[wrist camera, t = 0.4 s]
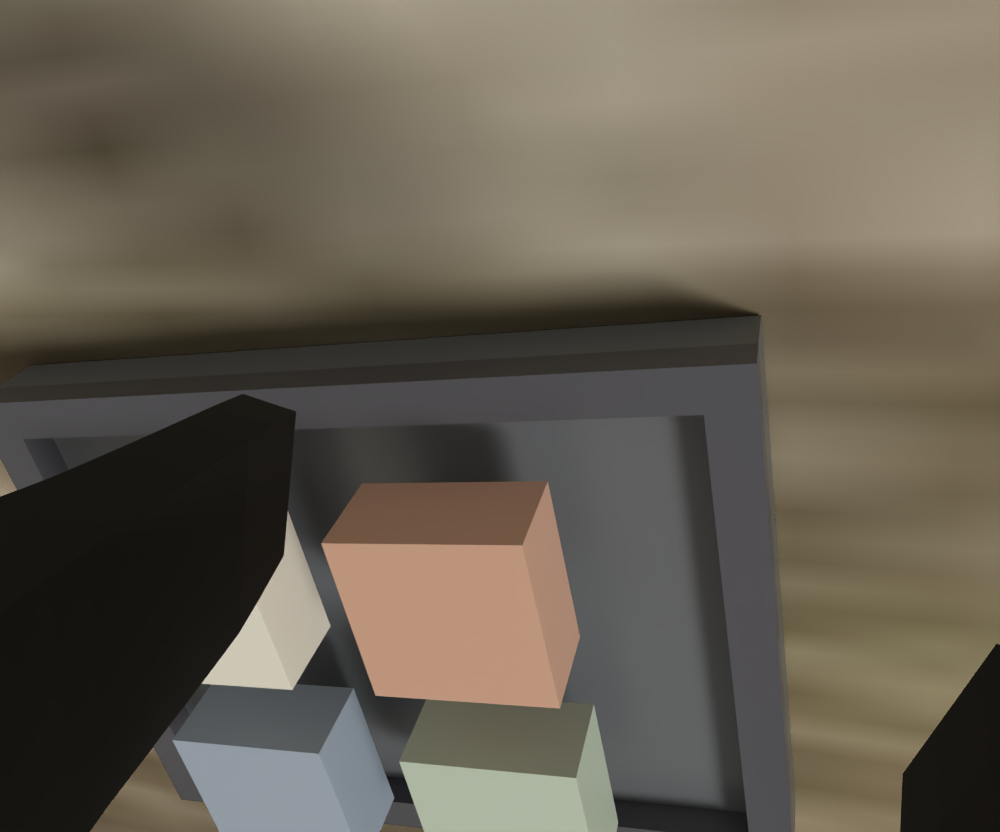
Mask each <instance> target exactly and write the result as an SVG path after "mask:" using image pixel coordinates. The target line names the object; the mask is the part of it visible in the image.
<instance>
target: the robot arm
mask: <svg viewBox="0 0 1000 832" xmlns="http://www.w3.org/2000/svg"><path fill="white" fill-rule="evenodd" d="M295 420H296V411H293V410H290V409H287V408H284V407H281V406H278V405H275V404H272V403H269V402H266V401H263V400H260V399H257V398H254V397H251V396H248V395H245V394H241V395H239V396H236V397H234V398H231V399H229V400H226V401H224V402H222V403H219V404H217V405H215V406H212V407H210V408H208V409H206V410H203V411H201V412H199V413H197V414H194V415H192V416H190V417H188V418H185V419H183V420H181V421H179V422H177V423H174V424H172V425H170V426H168V427H165V428H163V429H161V430H159V431H157V432H154V433H152V434H150V435H148V436H145V437H143V438H141V439H139V440H137V441H134V442H132V443H130V444H127V445H125V446H123V447H120V448H118V449H116V450H114V451H111V452H109V453H107V454H104V455H102V456H100V457H97V458H95V459H93V460H90V461H88V462H86V463H84V464H81V465H79V466H77V467H74V468H72V469H70V470H67V471H65V472H63V473H60V474H58V475H56V476H53V477H50V478H48V479H45V480H43V481H40V482H38V483H35V484H32V485H30V486H27V487H25V488H22V489H19V490H17V491H14V492H12V493H9V494H6V495H4V496H1V497H0V832H90V831H91V829H92V828H93V826H94V825H95V823H96V822H97V821H98V819H99V818H100V816H101V815H102V813H103V812H104V811H105V809H106V808H107V806H108V805H109V804H110V803H111V801H112V800H113V799H114V797H115V796H116V795H117V793H118V792H119V791H120V789H121V788H122V787H123V786H124V784H125V783H126V782H127V780H128V779H129V778H130V776H131V775H132V774H133V772H134V771H135V770H136V769H137V767H138V766H139V765H140V763H141V762H142V761H143V759H144V758H145V757H146V756H147V754H148V753H149V752H150V750H151V749H152V748H153V746H154V745H155V744H156V742H157V741H158V740H159V739H160V737H161V736H162V735H163V733H164V732H165V731H166V729H167V728H168V727H169V725H170V724H171V723H172V722H173V720H174V719H175V718H176V716H177V715H178V714H179V712H180V711H181V710H182V708H183V707H184V706H185V705H186V703H187V702H188V701H189V699H190V698H191V697H192V695H193V694H194V693H195V691H196V690H197V689H198V687H199V686H200V685H201V684H202V682H203V681H204V680H205V678H206V677H207V676H208V674H209V673H210V672H211V670H212V669H213V668H214V666H215V665H216V664H217V662H218V661H219V660H220V658H221V657H222V656H223V654H224V653H225V652H226V650H227V649H228V648H229V646H230V645H231V644H232V642H233V641H234V639H235V638H236V637H237V635H238V634H239V632H240V631H241V629H242V627H243V626H244V624H245V622H246V621H247V619H248V617H249V616H250V614H251V612H252V611H253V609H254V607H255V606H256V604H257V602H258V601H259V599H260V597H261V595H262V594H263V592H264V590H265V588H266V587H267V585H268V583H269V581H270V579H271V578H272V576H273V574H274V572H275V570H276V569H277V567H278V565H279V563H280V562H281V560H282V558H283V556H284V549H285V537H286V526H287V514H288V502H289V490H290V479H291V467H292V455H293V443H294V432H295ZM900 832H1000V645H999V644H996V645H995V647H994V648H993V650H992V651H991V652H990V654H989V655H988V657H987V658H986V659H985V661H984V662H983V663H982V665H981V666H980V668H979V669H978V670H977V672H976V673H975V675H974V676H973V677H972V679H971V680H970V681H969V683H968V684H967V686H966V687H965V688H964V690H963V691H962V693H961V694H960V695H959V697H958V698H957V699H956V701H955V702H954V704H953V705H952V706H951V708H950V709H949V711H948V712H947V713H946V715H945V716H944V717H943V719H942V720H941V722H940V723H939V724H938V726H937V727H936V729H935V730H934V731H933V733H932V734H931V735H930V737H929V738H928V740H927V741H926V742H925V744H924V745H923V747H922V748H921V749H920V751H919V752H918V754H917V755H916V756H915V758H914V759H913V760H912V762H911V763H910V765H909V766H908V767H907V769H906V770H905V772H904V773H903V782H902V805H901V827H900Z"/></svg>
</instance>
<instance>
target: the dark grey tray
mask: <svg viewBox="0 0 1000 832" xmlns="http://www.w3.org/2000/svg"><path fill="white" fill-rule="evenodd" d="M241 394H245V395H248V396H251V397H254V398H257V399H260V400H263V401H266V402H269V403H272V404H275V405H278V406H281V407H284V408H287V409H290V410H293V411H296V420H295V432H294V443H293V455H292V467H291V479H290V490H289V502H288V512H289V515H290V518H291V521H292V523H293V526H294V529H295V531H296V534H297V537H298V539H299V542H300V545H301V548H302V550H303V553H304V556H305V558H306V561H307V564H308V566H309V569H310V572H311V574H312V577H313V580H314V583H315V585H316V588H317V591H318V593H319V596H320V599H321V601H322V604H323V607H324V610H325V612H326V615H327V618H328V620H329V623H330V628H329V630H328V631H327V633H326V635H325V636H324V638H323V640H322V641H321V643H320V645H319V646H318V648H317V650H316V651H315V653H314V655H313V656H312V658H311V660H310V661H309V663H308V665H307V666H306V668H305V670H304V671H303V673H302V675H301V676H300V678H299V680H298V681H297V683H296V684H300V685H315V686H330V687H345V688H354V691H355V693H356V696H357V699H358V701H359V704H360V707H361V709H362V712H363V715H364V717H365V720H366V723H367V726H368V728H369V731H370V734H371V736H372V739H373V742H374V744H375V747H376V750H377V753H378V755H379V758H380V761H381V763H382V766H383V769H384V771H385V774H386V777H387V780H388V782H389V785H390V788H391V790H392V793H393V796H394V800H393V802H392V804H391V807H390V809H389V812H388V814H387V816H386V819H385V821H384V824H392V825H401V826H409V827H418V828H423V827H422V824H421V822H420V819H419V816H418V813H417V810H416V808H415V805H414V802H413V799H412V796H411V794H410V791H409V788H408V785H407V782H406V780H405V777H404V774H403V771H402V768H401V766H400V763H399V760H400V758H401V756H402V754H403V751H404V749H405V747H406V744H407V742H408V740H409V738H410V735H411V733H412V731H413V728H414V726H415V724H416V722H417V719H418V717H419V715H420V712H421V710H422V708H423V706H424V703H425V701H426V699H415V698H401V697H386V696H375V693H374V690H373V687H372V684H371V682H370V679H369V676H368V673H367V670H366V668H365V665H364V662H363V659H362V656H361V654H360V651H359V648H358V645H357V642H356V640H355V637H354V634H353V631H352V628H351V626H350V623H349V620H348V617H347V614H346V612H345V609H344V606H343V603H342V600H341V598H340V595H339V592H338V589H337V586H336V584H335V581H334V578H333V575H332V572H331V570H330V567H329V564H328V561H327V558H326V556H325V553H324V550H323V547H322V544H321V543H322V541H323V540H324V538H325V537H326V536H327V534H328V533H329V531H330V530H331V528H332V527H333V525H334V524H335V522H336V521H337V519H338V518H339V517H340V515H341V514H342V512H343V511H344V509H345V508H346V506H347V505H348V503H349V502H350V500H351V499H352V497H353V496H354V495H355V493H356V492H357V490H358V489H359V487H360V486H361V484H369V483H444V482H520V481H548V484H549V489H550V494H551V499H552V504H553V509H554V514H555V518H556V523H557V528H558V533H559V538H560V543H561V547H562V552H563V557H564V562H565V567H566V572H567V576H568V581H569V586H570V591H571V596H572V601H573V605H574V610H575V615H576V620H577V625H578V630H579V635H580V639H579V642H578V646H577V649H576V653H575V656H574V660H573V664H572V667H571V671H570V674H569V678H568V682H567V685H566V689H565V692H564V696H563V700H562V702H569V703H584V704H594V707H595V712H596V717H597V722H598V727H599V731H600V736H601V741H602V746H603V751H604V756H605V760H606V765H607V770H608V775H609V780H610V785H611V789H612V794H613V799H614V804H615V809H616V814H617V818H618V826H617V832H795V792H794V778H793V764H792V750H791V735H790V721H789V707H788V693H787V679H786V664H785V650H784V636H783V622H782V608H781V593H780V579H779V565H778V551H777V537H776V522H775V508H774V494H773V480H772V466H771V451H770V437H769V423H768V409H767V395H766V380H765V366H764V352H763V338H762V324H761V315H760V316H745V317H731V318H716V319H701V320H687V321H672V322H658V323H643V324H628V325H614V326H599V327H584V328H570V329H555V330H541V331H526V332H511V333H497V334H482V335H468V336H453V337H438V338H424V339H409V340H395V341H380V342H365V343H351V344H336V345H321V346H307V347H292V348H278V349H263V350H248V351H234V352H219V353H205V354H190V355H175V356H161V357H146V358H132V359H117V360H102V361H88V362H73V363H58V364H44V365H29V366H28V367H26V368H25V369H23V370H22V371H20V372H19V373H17V374H16V375H14V376H13V377H11V378H10V379H9V380H7V381H6V382H4V383H3V384H1V385H0V459H1V460H2V462H3V464H4V466H5V468H6V470H7V472H8V474H9V476H10V477H11V479H12V481H13V483H14V485H15V487H16V489H17V490H19V489H22V488H25V487H27V486H30V485H32V484H35V483H38V482H40V481H43V480H45V479H48V478H50V477H53V476H56V475H58V474H60V473H63V472H65V471H67V470H70V469H72V468H74V467H77V466H79V465H81V464H84V463H86V462H88V461H90V460H93V459H95V458H97V457H100V456H102V455H104V454H107V453H109V452H111V451H114V450H116V449H118V448H120V447H123V446H125V445H127V444H130V443H132V442H134V441H137V440H139V439H141V438H143V437H145V436H148V435H150V434H152V433H154V432H157V431H159V430H161V429H163V428H165V427H168V426H170V425H172V424H174V423H177V422H179V421H181V420H183V419H185V418H188V417H190V416H192V415H194V414H197V413H199V412H201V411H203V410H206V409H208V408H210V407H212V406H215V405H217V404H219V403H222V402H224V401H226V400H229V399H231V398H234V397H236V396H239V395H241ZM210 686H211V684H201V685H200V686H199V687H198V689H197V690H196V691H195V693H194V694H193V695H192V697H191V698H190V699H189V701H188V702H187V703H186V705H185V706H184V707H183V708H182V710H181V711H180V712H179V714H178V715H177V716H176V718H175V719H174V720H173V722H172V723H171V724H170V725H169V727H168V728H167V729H166V731H165V732H164V733H163V735H162V736H161V737H160V739H159V740H158V741H157V742H156V744H155V745H154V746H153V747H154V749H155V751H156V753H157V754H158V756H159V758H160V760H161V762H162V764H163V766H164V768H165V769H166V771H167V773H168V775H169V777H170V779H171V781H172V783H173V785H174V786H175V788H176V790H177V792H178V794H179V796H180V798H181V799H182V800H190V801H199V802H204V801H203V799H202V797H201V795H200V793H199V791H198V789H197V787H196V785H195V783H194V781H193V779H192V777H191V776H190V774H189V772H188V770H187V768H186V766H185V764H184V762H183V760H182V758H181V756H180V754H179V752H178V750H177V748H176V746H175V744H174V742H173V741H172V740H173V738H174V737H175V736H176V734H177V733H178V731H179V730H180V728H181V727H182V726H183V724H184V723H185V721H186V720H187V718H188V717H189V716H190V714H191V713H192V711H193V710H194V708H195V707H196V706H197V704H198V703H199V701H200V700H201V698H202V697H203V696H204V694H205V693H206V691H207V690H208V688H209V687H210Z"/></svg>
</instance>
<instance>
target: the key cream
mask: <svg viewBox="0 0 1000 832" xmlns="http://www.w3.org/2000/svg"><path fill="white" fill-rule="evenodd" d="M329 628H330V623H329V620H328V618H327V615H326V612H325V610H324V607H323V604H322V601H321V599H320V596H319V593H318V591H317V588H316V585H315V583H314V580H313V577H312V574H311V572H310V569H309V566H308V564H307V561H306V558H305V556H304V553H303V550H302V548H301V545H300V542H299V539H298V537H297V534H296V531H295V529H294V526H293V523H292V521H291V518H290V515H289V512H288V514H287V526H286V537H285V549H284V556H283V558H282V560H281V562H280V563H279V565H278V567H277V569H276V570H275V572H274V574H273V576H272V578H271V579H270V581H269V583H268V585H267V587H266V588H265V590H264V592H263V594H262V595H261V597H260V599H259V601H258V602H257V604H256V606H255V607H254V609H253V611H252V612H251V614H250V616H249V617H248V619H247V621H246V622H245V624H244V626H243V627H242V629H241V631H240V632H239V634H238V635H237V637H236V638H235V639H234V641H233V642H232V644H231V645H230V646H229V648H228V649H227V650H226V652H225V653H224V654H223V656H222V657H221V658H220V660H219V661H218V662H217V664H216V665H215V666H214V668H213V669H212V670H211V672H210V673H209V674H208V676H207V677H206V678H205V680H204V681H203V682H202V684H213V685H228V686H242V687H257V688H271V689H285V690H293V688H294V686H295V685H296V683H297V681H298V680H299V678H300V676H301V675H302V673H303V671H304V670H305V668H306V666H307V665H308V663H309V661H310V660H311V658H312V656H313V655H314V653H315V651H316V650H317V648H318V646H319V645H320V643H321V641H322V640H323V638H324V636H325V635H326V633H327V631H328V630H329Z"/></svg>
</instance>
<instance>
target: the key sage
mask: <svg viewBox="0 0 1000 832" xmlns="http://www.w3.org/2000/svg"><path fill="white" fill-rule="evenodd" d="M399 763H400V766H401V768H402V771H403V774H404V777H405V780H406V782H407V785H408V788H409V791H410V794H411V796H412V799H413V802H414V805H415V808H416V810H417V813H418V816H419V819H420V822H421V824H422V827H423V830H424V832H617V826H618V818H617V814H616V809H615V804H614V799H613V794H612V789H611V785H610V780H609V775H608V770H607V765H606V760H605V756H604V751H603V746H602V741H601V736H600V731H599V727H598V722H597V717H596V712H595V707H594V704H584V703H569V702H562V703H561V707H560V709H559V708H545V707H530V706H516V705H501V704H487V703H473V702H458V701H444V700H429V699H426V701H425V703H424V706H423V708H422V710H421V712H420V715H419V717H418V719H417V722H416V724H415V726H414V728H413V731H412V733H411V735H410V738H409V740H408V742H407V744H406V747H405V749H404V751H403V754H402V756H401V758H400V760H399Z"/></svg>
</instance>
